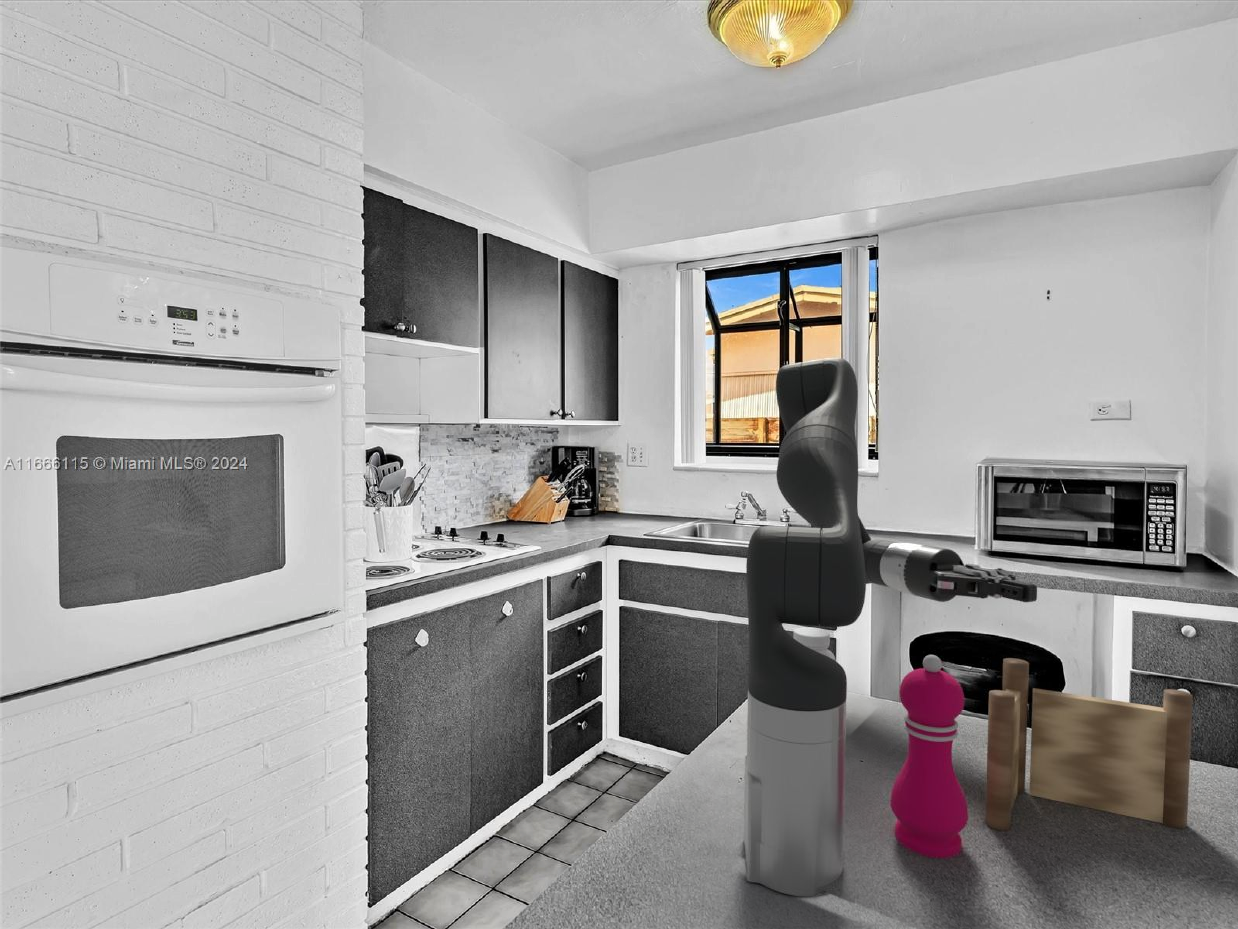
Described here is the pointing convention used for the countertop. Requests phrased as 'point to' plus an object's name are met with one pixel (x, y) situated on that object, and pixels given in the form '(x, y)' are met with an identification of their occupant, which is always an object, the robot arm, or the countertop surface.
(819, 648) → the supplement bottle
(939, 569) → the robot arm
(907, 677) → the pepper mill
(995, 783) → the fixed panel
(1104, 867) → the countertop surface
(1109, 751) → the swing panel
